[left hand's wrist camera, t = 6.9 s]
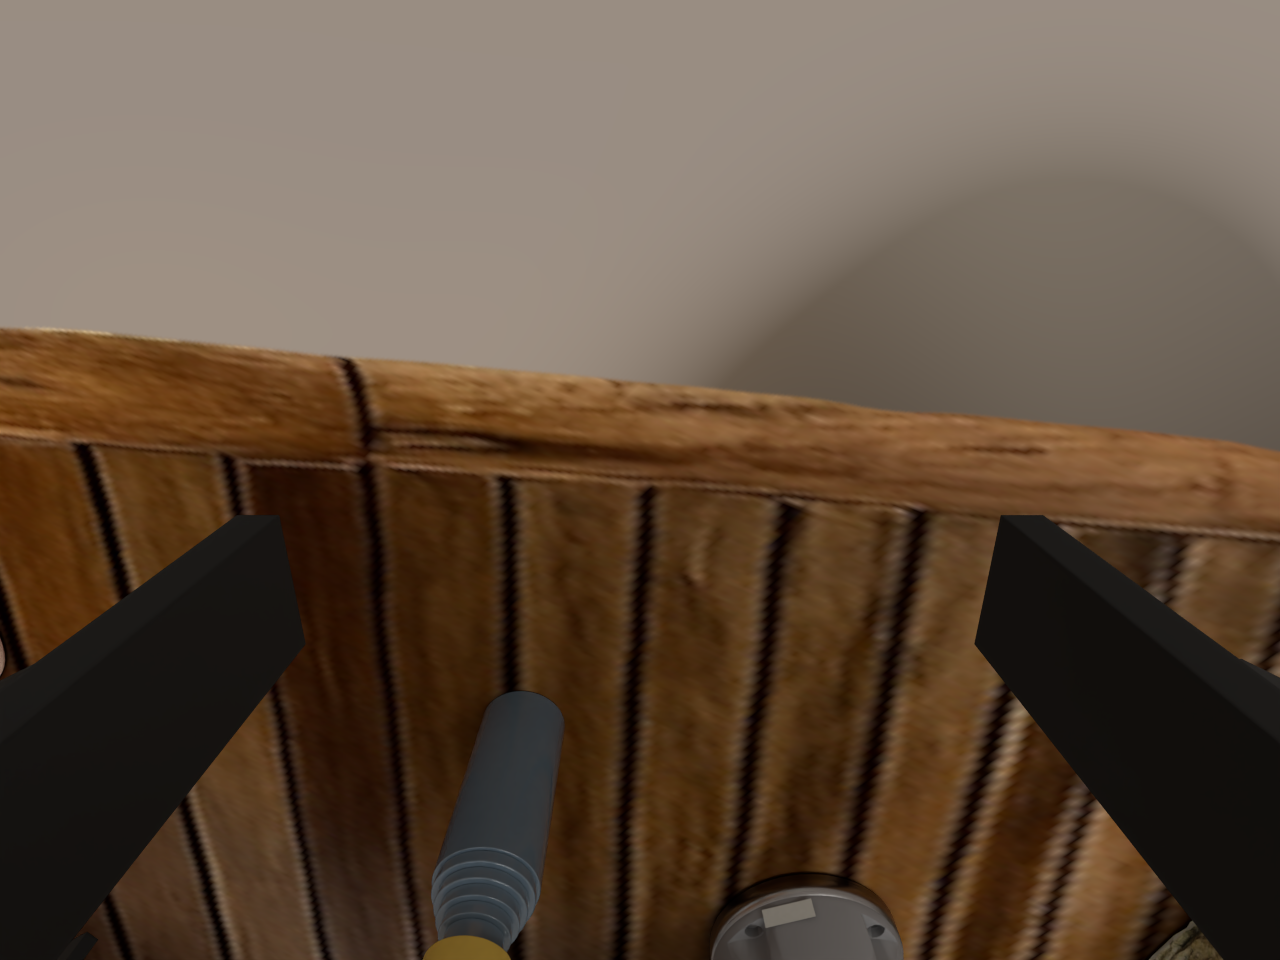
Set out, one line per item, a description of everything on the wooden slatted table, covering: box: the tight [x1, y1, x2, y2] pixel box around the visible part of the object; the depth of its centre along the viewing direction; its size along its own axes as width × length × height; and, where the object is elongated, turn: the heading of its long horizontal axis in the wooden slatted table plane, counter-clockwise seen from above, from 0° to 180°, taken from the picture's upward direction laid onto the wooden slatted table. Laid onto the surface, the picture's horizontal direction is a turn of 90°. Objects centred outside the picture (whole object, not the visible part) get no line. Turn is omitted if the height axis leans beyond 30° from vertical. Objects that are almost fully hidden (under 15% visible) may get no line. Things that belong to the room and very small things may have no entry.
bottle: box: [431, 691, 565, 952], centre depth 40 cm, size 6×6×18 cm
